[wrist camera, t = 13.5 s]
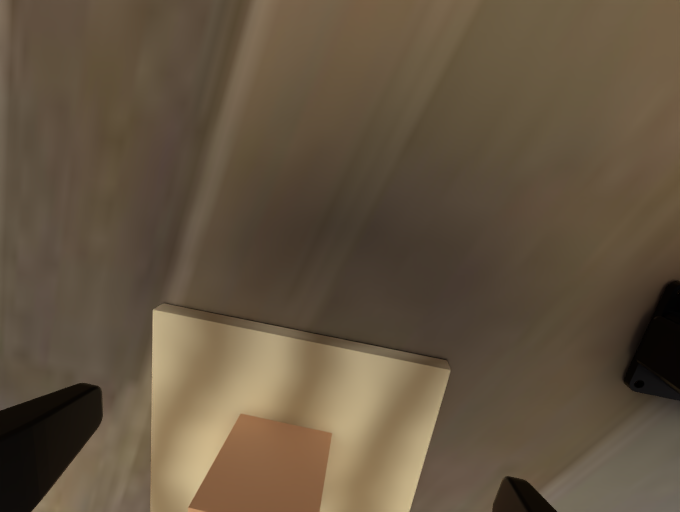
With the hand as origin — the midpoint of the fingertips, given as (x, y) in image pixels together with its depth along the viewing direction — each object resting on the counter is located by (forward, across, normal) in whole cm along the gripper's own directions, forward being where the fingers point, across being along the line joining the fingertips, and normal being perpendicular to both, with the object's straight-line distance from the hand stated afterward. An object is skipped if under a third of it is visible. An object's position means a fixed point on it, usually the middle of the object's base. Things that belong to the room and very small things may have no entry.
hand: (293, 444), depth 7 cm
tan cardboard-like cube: (+11, +2, +13) cm, 17 cm away
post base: (+12, +2, +13) cm, 18 cm away
